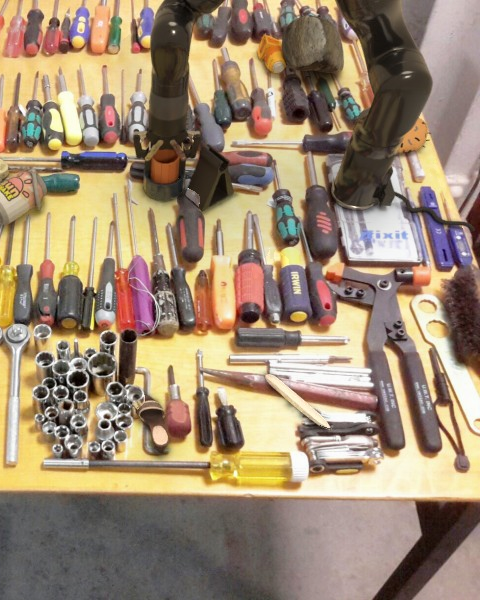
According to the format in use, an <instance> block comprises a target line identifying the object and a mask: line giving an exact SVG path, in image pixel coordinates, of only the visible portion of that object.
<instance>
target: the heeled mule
mask: <svg viewBox="0 0 480 600" xmlns="http://www.w3.org/2000/svg"><path fill="white" fill-rule="evenodd" d="M143 394H144V395H145V402H144V404H143V405H142V406H141V407H140V408H139V409H138V411H137V410H136V413H137V416H138V417H139V419H140V420H141V421H143V422H144V423H145V425H147V427H149V429H150V433H151V439H152V442H153V446H154V449H155V451H156V452H158V453H163V452H165V451H166V449H167V447H168V445H169V443H170V439H169V438H170V437H169V433H168V430H167V428H166V425H165V420H164V419H165V417H166V411H165V409H164V408H163V407H162V405H161V404H160V403H159V402H158V401H156V400H155V399H154V398H153V397H151V396H150V395H148V394H146V393H143Z"/></svg>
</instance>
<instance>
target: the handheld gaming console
mask: <svg viewBox="0 0 480 600" xmlns="http://www.w3.org/2000/svg"><path fill="white" fill-rule="evenodd" d="M8 169H9V165H8V163H7V162H6V161H5V160H3V159H2V158H1V157H0V184H1V183H2V181H3V180H4V179H5V178H7V177H9V175H10V170H8Z"/></svg>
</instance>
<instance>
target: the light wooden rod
mask: <svg viewBox="0 0 480 600" xmlns="http://www.w3.org/2000/svg"><path fill="white" fill-rule="evenodd" d="M264 378H265V381H266V382H267V384H268V385H269V386H271V387H272V388H273V389H274V390H275V391H276V392H277V393H278V394H279V395H281V396H282V397H283V398H284V399H285V400H286V401H288V402H289V403H290V404H291V405H292V406H293V407H295V409H297V410H298V411H299V412H300V413H302V414H303V415H304V416H306V417H307V418H308V419H309V420H311V421H312V422H313V423H315V424H316V425H317V426H319V427H321V428H324V427H327V428H331V426H330V424H329V422H328V421H327V419H325V418H324V416H322V415H321V414H320V413H319V412H318V411H317V410H316V409H314V407H313V406H311V405H310V404H309V403H308V402H307V401H306V400H304V399H303V398H302V397H301V396H300V395H299V394H298V393H296V392H295V391H294V390H293V389H291V388H290V387H289V386H288V385H287V384H285V382H283V381H282V380H281V379H279V378H278V377H277V376H276V375H275V374H272V373H267V374H265V375H264ZM320 425H321V426H320ZM322 426H324V427H322ZM327 428H325V429H327ZM327 430H328V429H327Z"/></svg>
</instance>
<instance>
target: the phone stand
mask: <svg viewBox="0 0 480 600" xmlns="http://www.w3.org/2000/svg"><path fill="white" fill-rule="evenodd" d="M206 146H207V147H208V148H207V147H206ZM206 146H202V147H201V149H200V150H199V152H198V153H199V154H198V160H197V163H196V166H195V168H194V171H193V172H192V175H191V177H190V180H189V182H188V185H187V188H189V189H191V190H193V191H195V192H196V193H197V194H199V196H200V204H199V208H198V209H199V210H201V211H202V212H204V211H206V210H208V209H209V208H211V207H213V206H215V205H216V204H218V203H220V202H222V201H223V200H225V199H227V198H229V197H230V196H233V194H234V193H235V191H234V186H233V183H232V179H231V175H230V170H229V166H230V159H228V158H227V157H225V156H224V155H223V154H222V153H220V152H219V151H218V150H217V149H216V148H214V147H213V146H212V145H211V144H209V143H207V144H206ZM187 188H186V189H187Z"/></svg>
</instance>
